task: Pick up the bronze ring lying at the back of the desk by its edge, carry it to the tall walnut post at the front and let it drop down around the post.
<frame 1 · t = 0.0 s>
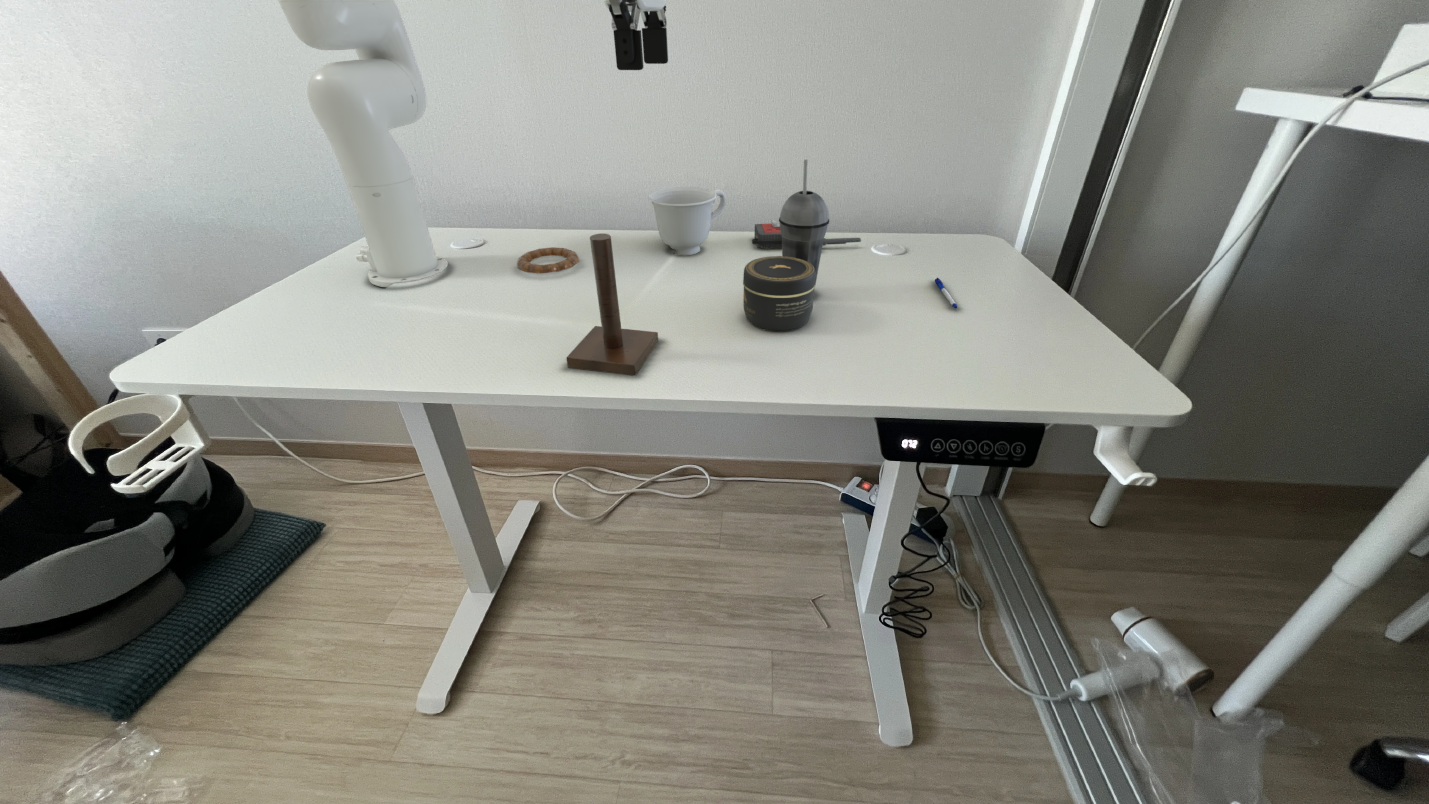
hand: (644, 66, 74), 31 cm above the table, tool pointing down, fingers open, 9 cm apart
teacup: (691, 249, 109), on the table
beverage cup: (798, 295, 91), on the table
ring: (548, 261, 102), point 1 cm above the table
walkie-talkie: (803, 244, 111), on the table
jar: (777, 319, 84), on the table
post: (614, 354, 76), on the table
blue marker pen: (945, 296, 90), on the table
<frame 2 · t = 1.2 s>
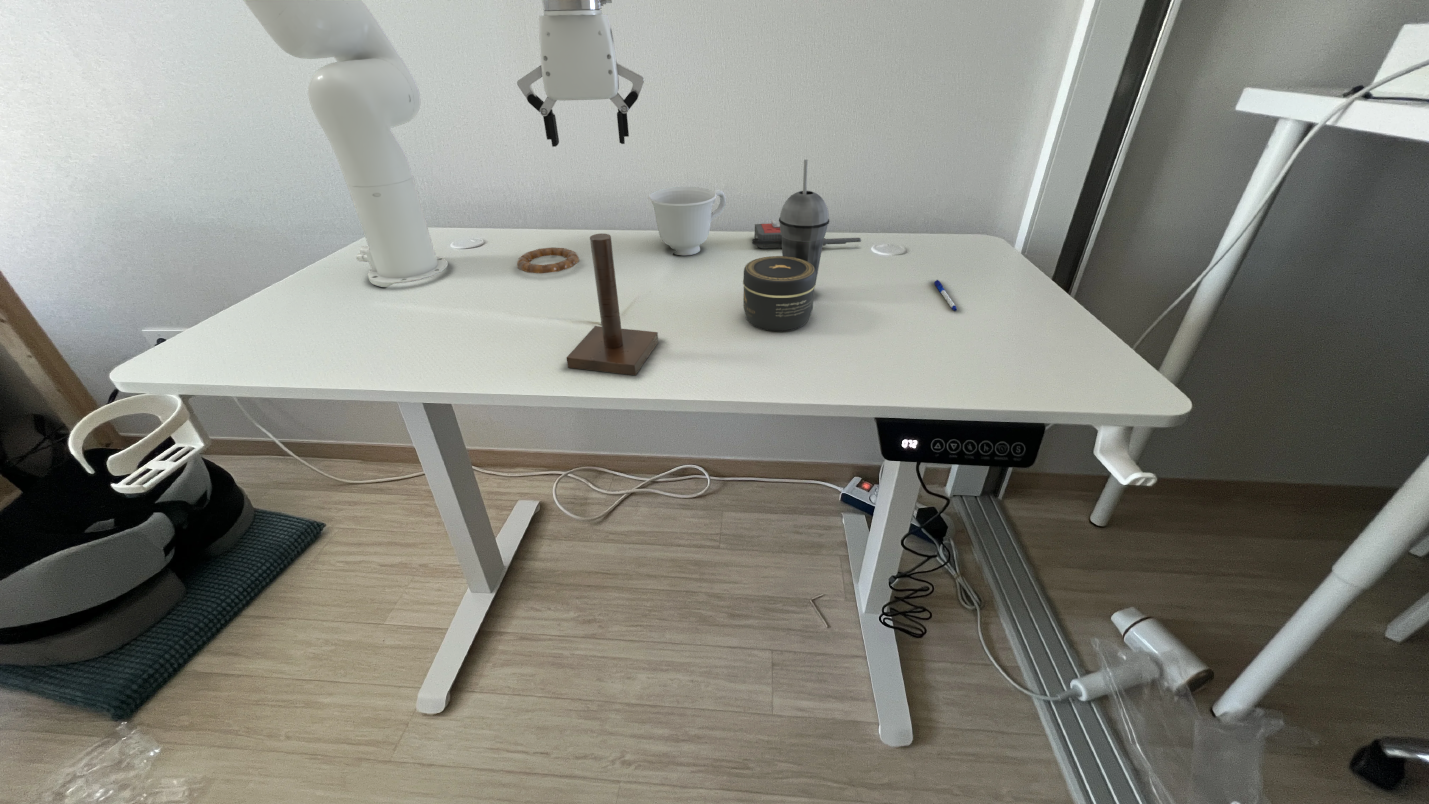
hand: (589, 143, 86), 21 cm above the table, tool pointing down, fingers open, 9 cm apart
nothing on the table moved.
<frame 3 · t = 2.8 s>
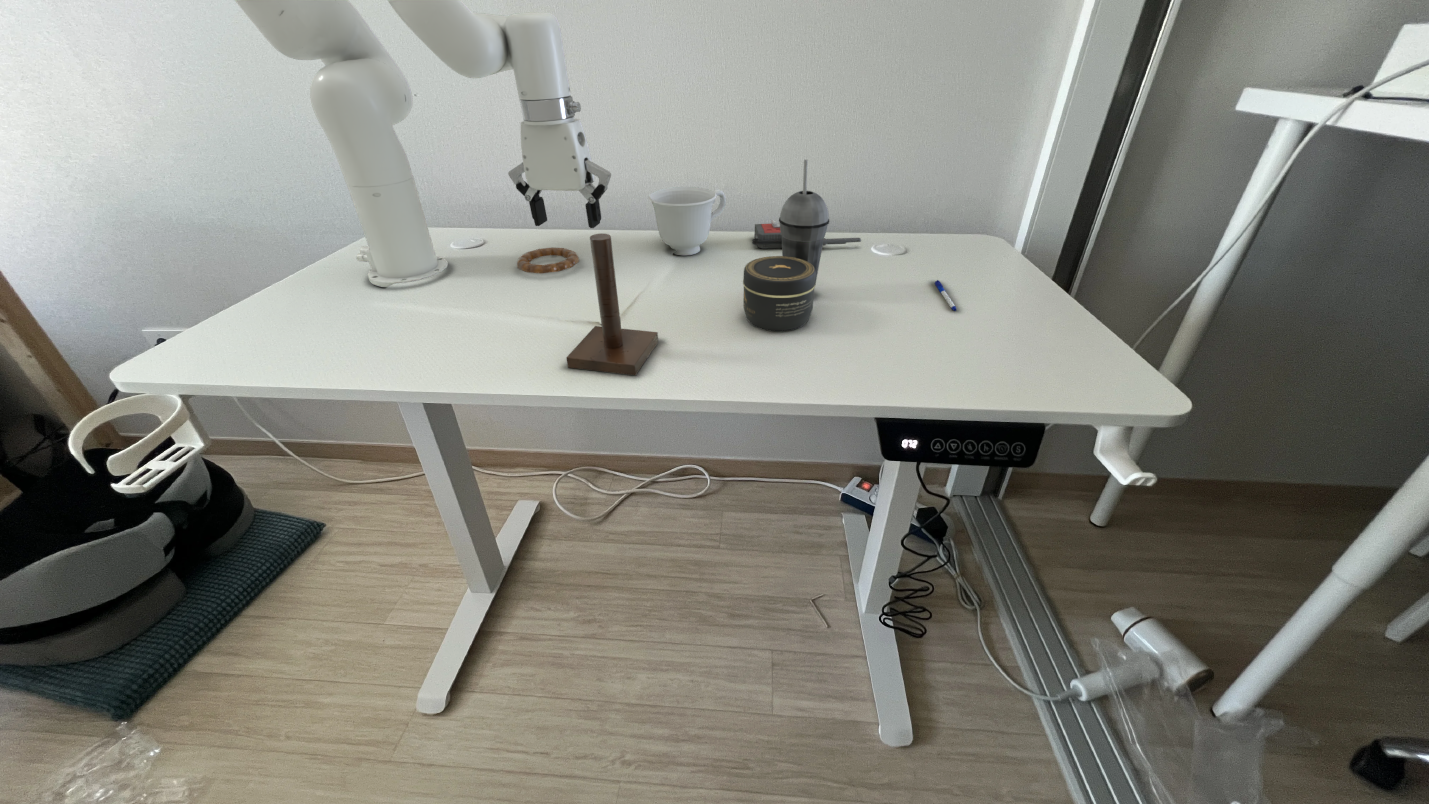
hand: (567, 224, 97), 8 cm above the table, tool pointing down, fingers open, 9 cm apart
nothing on the table moved.
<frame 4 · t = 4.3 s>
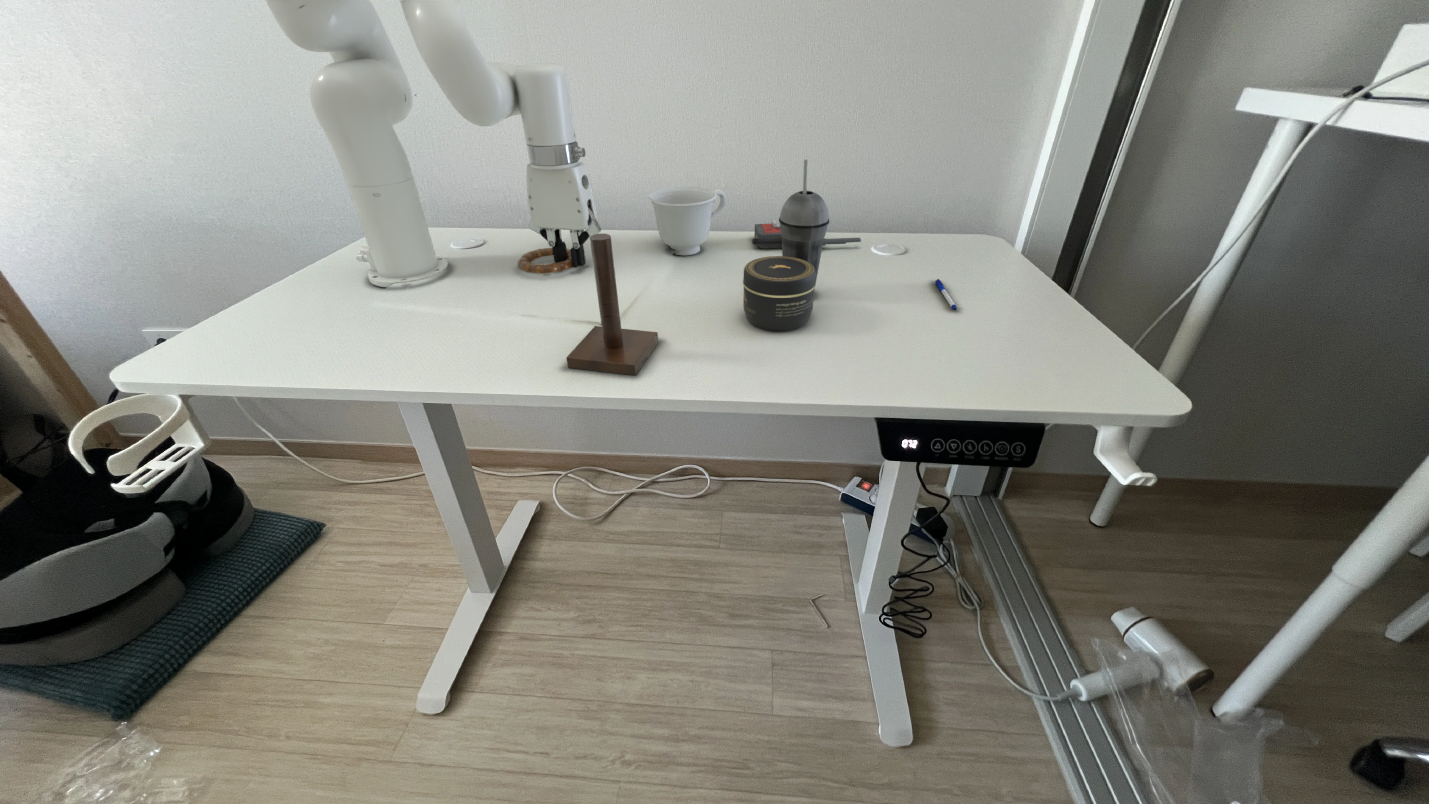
hand: (570, 266, 101), 0 cm above the table, tool pointing down, fingers closed on ring, 2 cm apart
ring: (549, 261, 102), point 1 cm above the table, touching gripper
everything else where it was.
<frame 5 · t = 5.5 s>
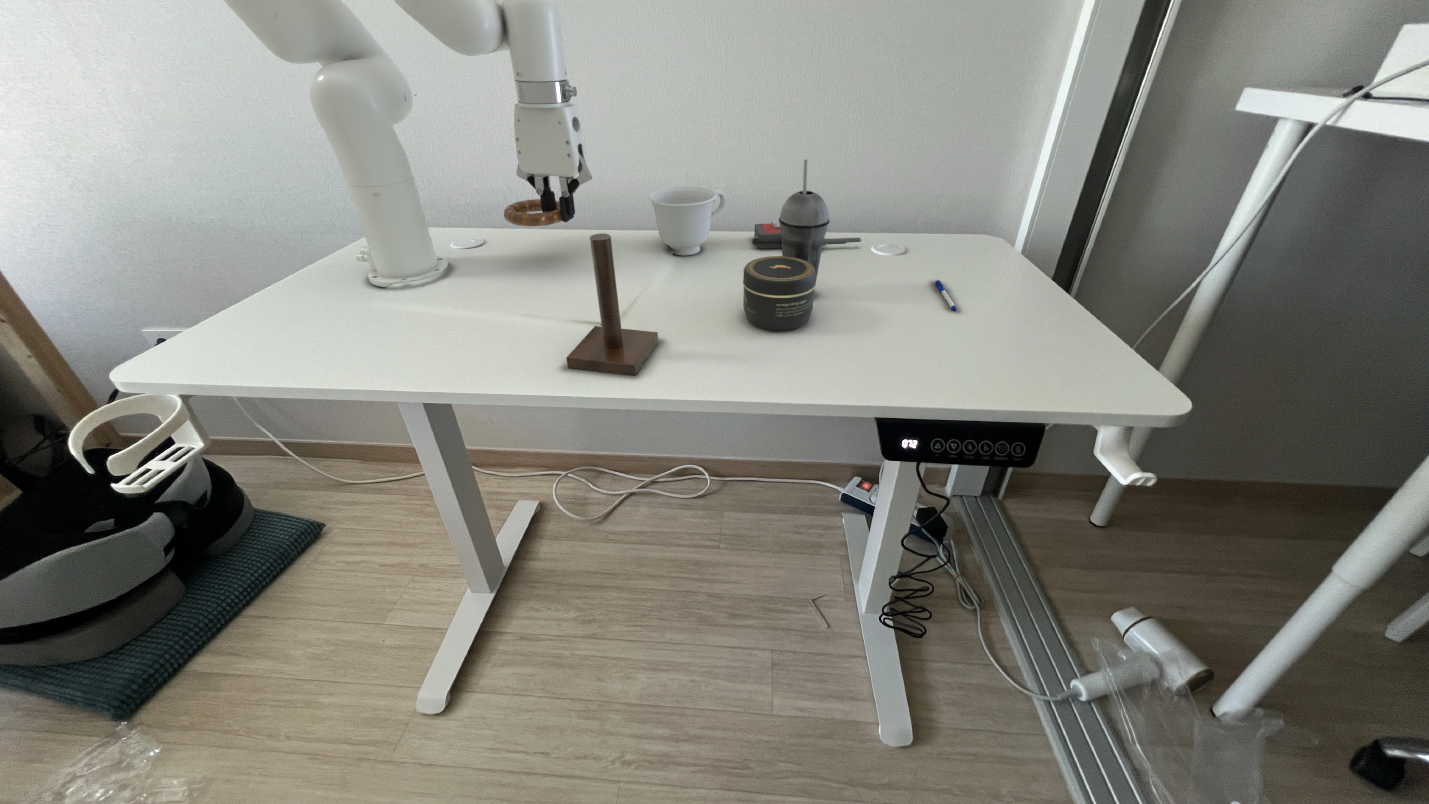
hand: (559, 218, 97), 9 cm above the table, tool pointing down, fingers closed on ring
ring: (536, 212, 97), point 10 cm above the table, touching gripper
everything else where it was.
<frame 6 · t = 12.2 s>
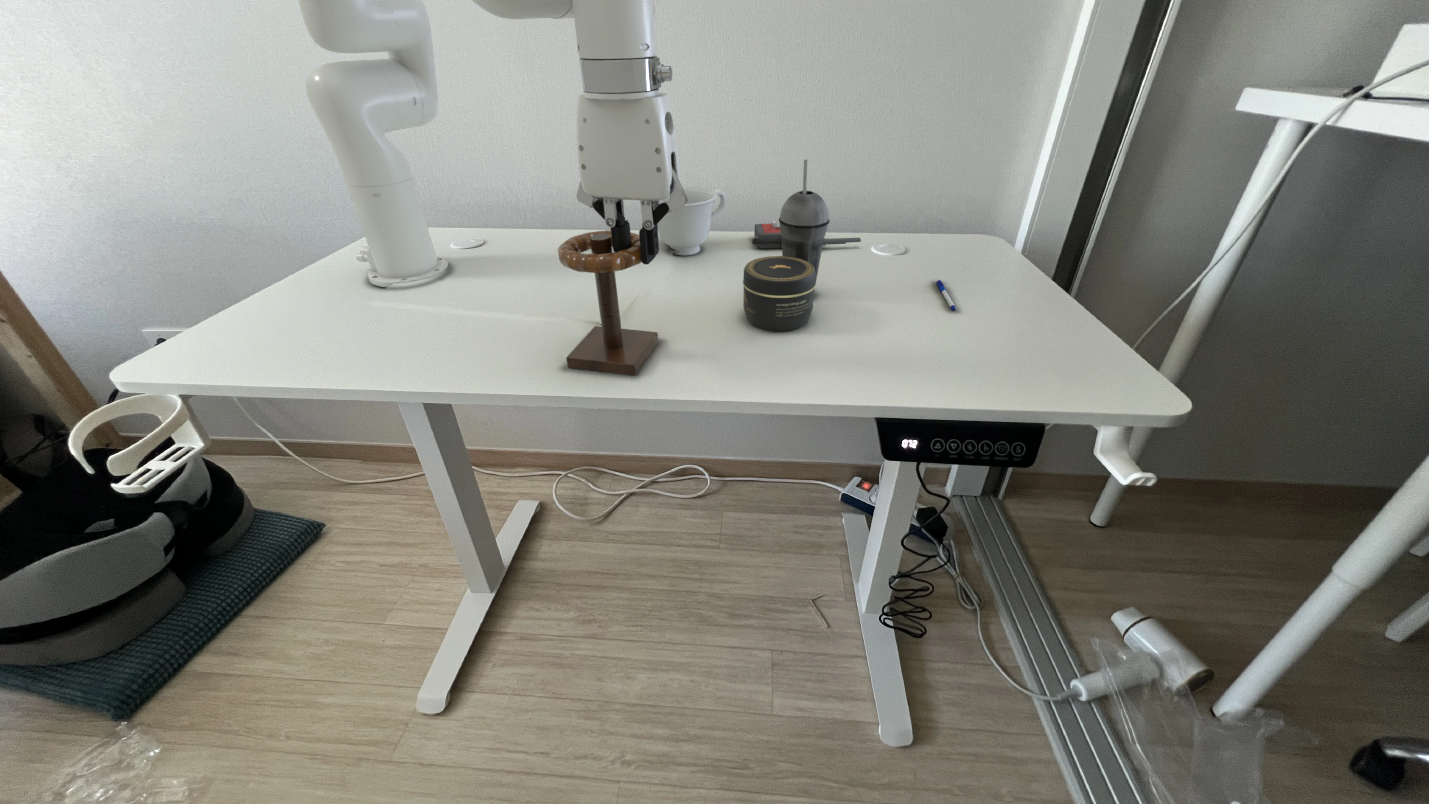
hand: (636, 258, 68), 13 cm above the table, tool pointing down, fingers closed on ring
ring: (603, 250, 68), point 14 cm above the table, touching gripper
everything else where it was.
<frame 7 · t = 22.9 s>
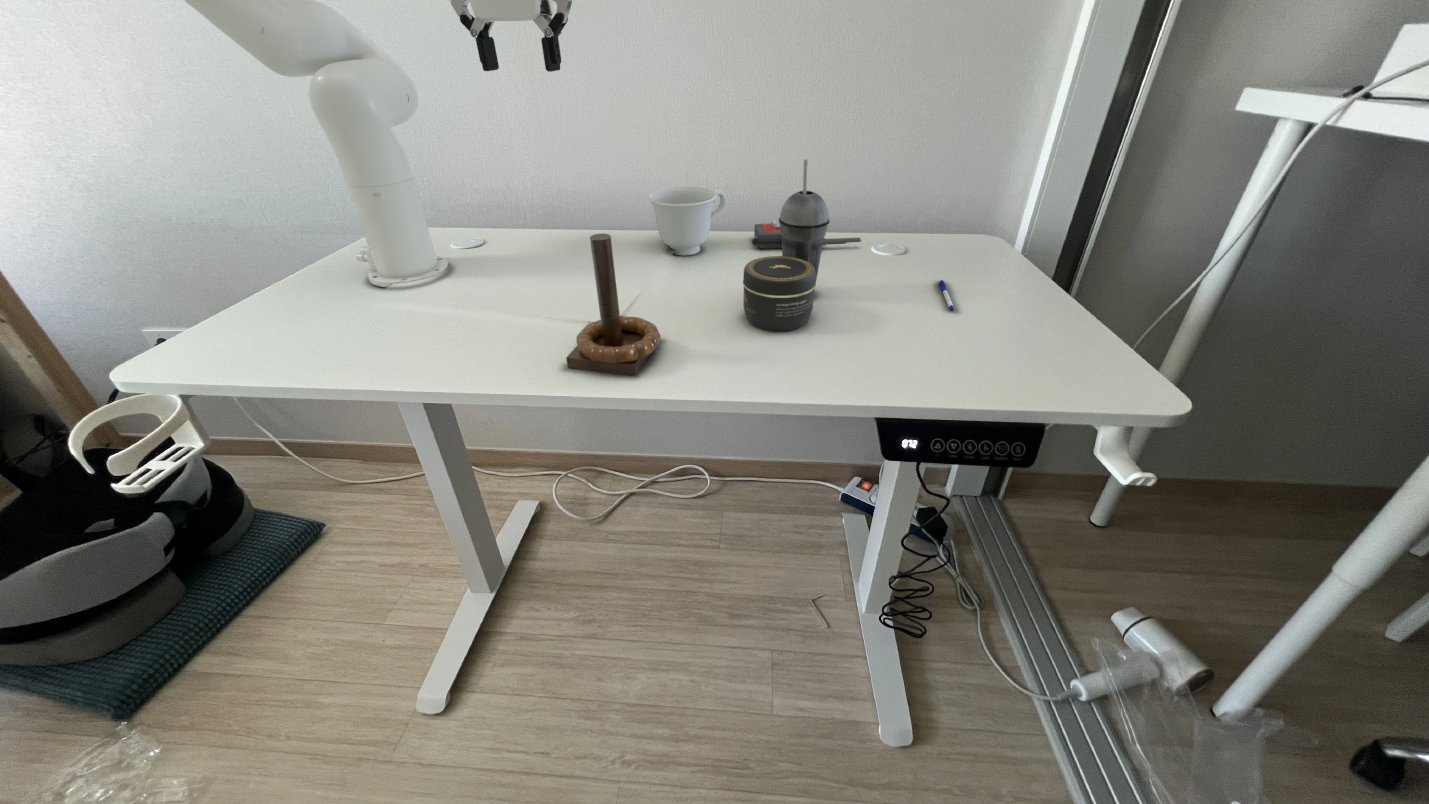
hand: (522, 70, 83), 30 cm above the table, tool pointing down, fingers open, 9 cm apart
ring: (618, 338, 74), point 2 cm above the table, touching post
everything else where it was.
at the end: ring 0.9 cm from the post (horizontally); ring point 2.5 cm above the table; the gripper is holding nothing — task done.
